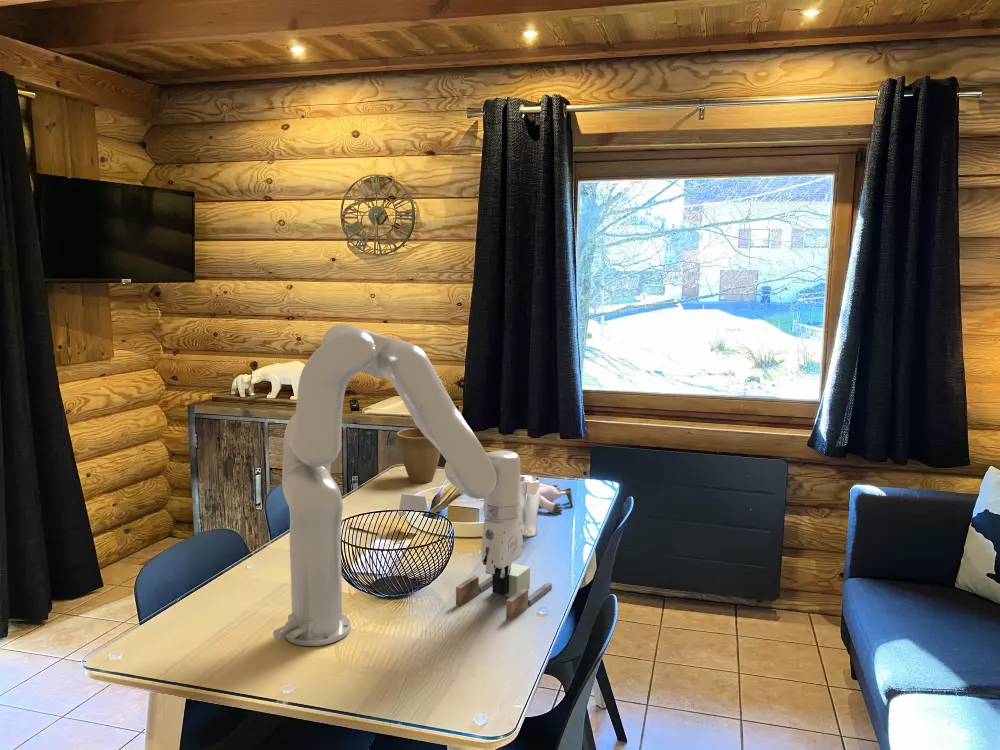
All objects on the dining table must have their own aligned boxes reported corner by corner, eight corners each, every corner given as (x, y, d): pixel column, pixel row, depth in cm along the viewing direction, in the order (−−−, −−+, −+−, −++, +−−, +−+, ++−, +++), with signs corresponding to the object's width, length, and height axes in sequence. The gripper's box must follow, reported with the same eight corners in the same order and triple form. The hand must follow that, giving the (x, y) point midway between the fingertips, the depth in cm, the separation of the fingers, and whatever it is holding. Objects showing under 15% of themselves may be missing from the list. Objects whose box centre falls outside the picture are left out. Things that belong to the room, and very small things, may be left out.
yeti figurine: (575, 502, 242) (512, 496, 245) (577, 480, 241) (513, 475, 245) (569, 517, 223) (500, 511, 226) (571, 494, 222) (501, 488, 226)
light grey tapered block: (421, 535, 206) (421, 498, 204) (398, 532, 208) (398, 495, 207) (427, 530, 209) (427, 494, 208) (405, 527, 212) (404, 491, 210)
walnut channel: (511, 620, 158) (511, 601, 158) (455, 604, 165) (456, 586, 165) (527, 607, 164) (528, 589, 164) (473, 593, 171) (474, 575, 171)
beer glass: (544, 531, 210) (545, 477, 207) (531, 539, 204) (532, 483, 202) (521, 526, 213) (522, 473, 211) (508, 534, 207) (509, 479, 205)
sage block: (517, 598, 169) (517, 576, 168) (492, 592, 171) (492, 571, 171) (529, 588, 174) (529, 567, 173) (505, 583, 177) (505, 561, 176)
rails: (530, 605, 165) (530, 600, 165) (476, 591, 172) (476, 586, 172) (551, 588, 174) (551, 583, 174) (499, 575, 180) (499, 570, 180)
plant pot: (430, 471, 267) (430, 425, 264) (451, 482, 254) (451, 434, 252) (389, 477, 259) (389, 430, 256) (410, 489, 246) (409, 439, 244)
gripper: (498, 523, 157) (497, 610, 159) (534, 503, 169) (532, 584, 172) (467, 516, 160) (466, 601, 163) (504, 497, 173) (503, 577, 176)
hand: (500, 592), depth 168 cm, fingers closed
